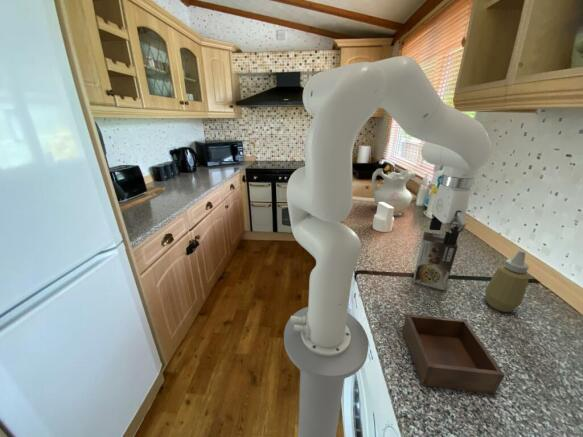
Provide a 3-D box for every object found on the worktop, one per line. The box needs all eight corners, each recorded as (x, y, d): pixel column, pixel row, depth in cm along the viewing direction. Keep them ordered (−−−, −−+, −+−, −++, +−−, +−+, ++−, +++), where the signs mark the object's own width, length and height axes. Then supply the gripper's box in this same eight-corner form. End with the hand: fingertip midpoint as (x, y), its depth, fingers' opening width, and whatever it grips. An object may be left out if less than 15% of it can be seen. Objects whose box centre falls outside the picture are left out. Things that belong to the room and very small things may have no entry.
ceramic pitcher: (375, 220, 130) (384, 175, 118) (362, 205, 147) (369, 164, 136) (413, 219, 132) (426, 175, 120) (396, 204, 149) (406, 164, 137)
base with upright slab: (395, 231, 115) (400, 207, 111) (379, 232, 113) (383, 208, 109) (384, 223, 123) (388, 201, 119) (368, 225, 121) (372, 202, 117)
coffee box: (443, 280, 81) (457, 237, 75) (444, 291, 76) (459, 246, 69) (413, 272, 85) (424, 230, 78) (412, 282, 79) (423, 239, 73)
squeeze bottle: (524, 317, 66) (552, 261, 59) (491, 313, 67) (515, 257, 60) (505, 297, 73) (529, 245, 66) (476, 294, 75) (496, 242, 67)
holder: (422, 385, 49) (428, 366, 47) (402, 331, 61) (406, 314, 59) (494, 394, 47) (504, 375, 45) (459, 336, 60) (465, 319, 58)
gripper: (429, 174, 75) (418, 224, 82) (457, 190, 60) (440, 250, 66) (455, 175, 75) (441, 225, 81) (490, 191, 59) (470, 252, 65)
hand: (441, 236), depth 74 cm, fingers open, 9 cm apart
